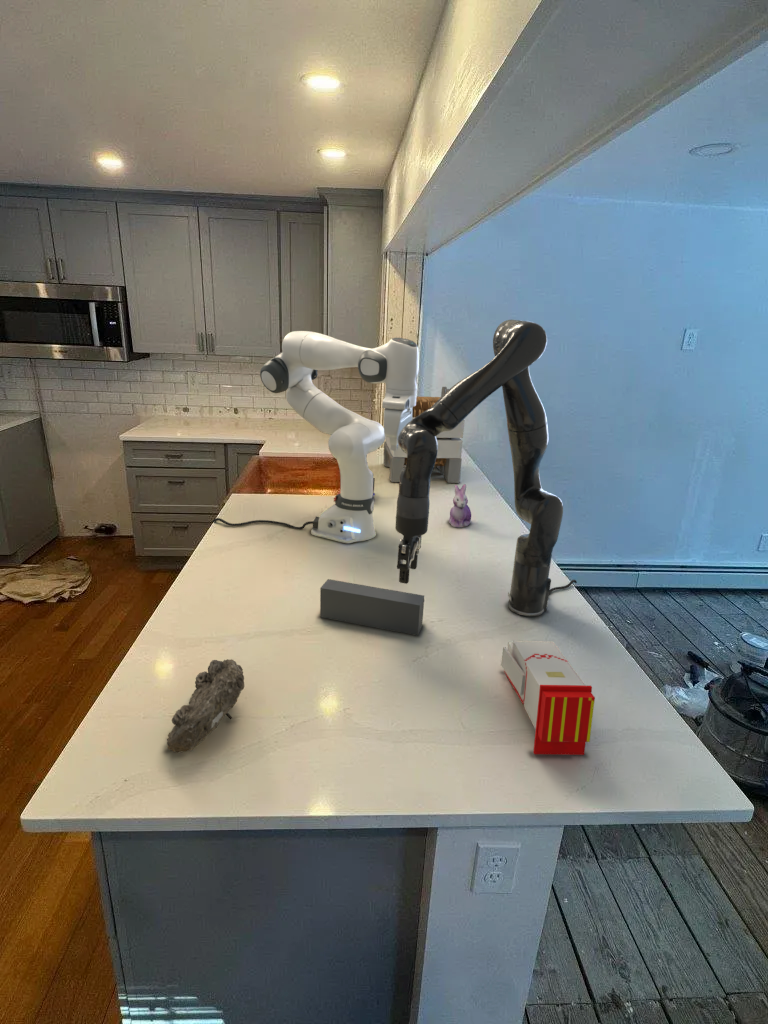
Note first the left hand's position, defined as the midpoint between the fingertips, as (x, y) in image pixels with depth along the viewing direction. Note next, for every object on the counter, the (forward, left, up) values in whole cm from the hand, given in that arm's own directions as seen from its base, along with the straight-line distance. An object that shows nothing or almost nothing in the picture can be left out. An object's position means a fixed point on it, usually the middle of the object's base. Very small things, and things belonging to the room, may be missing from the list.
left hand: (397, 446), depth 164 cm
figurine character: (-26, +57, -37) cm, 73 cm away
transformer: (-14, +104, -37) cm, 112 cm away
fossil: (-14, -79, -37) cm, 89 cm away
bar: (+4, -35, -37) cm, 51 cm away
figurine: (+15, +43, -37) cm, 58 cm away
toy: (+46, -55, -37) cm, 81 cm away
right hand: (+13, -35, -23) cm, 44 cm away
